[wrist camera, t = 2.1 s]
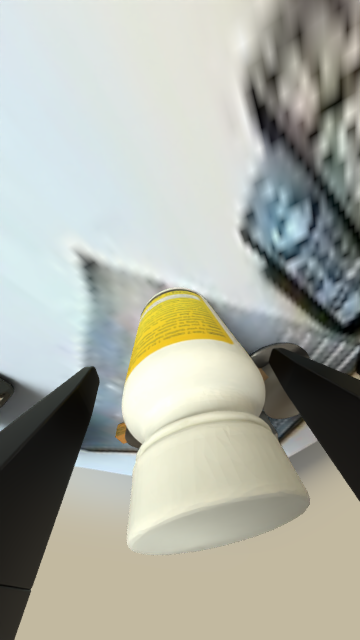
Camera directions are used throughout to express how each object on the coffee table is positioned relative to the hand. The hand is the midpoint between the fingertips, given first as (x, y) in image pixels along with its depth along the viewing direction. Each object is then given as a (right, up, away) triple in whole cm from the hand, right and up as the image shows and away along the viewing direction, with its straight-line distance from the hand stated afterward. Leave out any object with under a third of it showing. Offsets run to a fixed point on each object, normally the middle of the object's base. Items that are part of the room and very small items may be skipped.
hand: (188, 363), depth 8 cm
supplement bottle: (-1, +2, +4) cm, 5 cm away
